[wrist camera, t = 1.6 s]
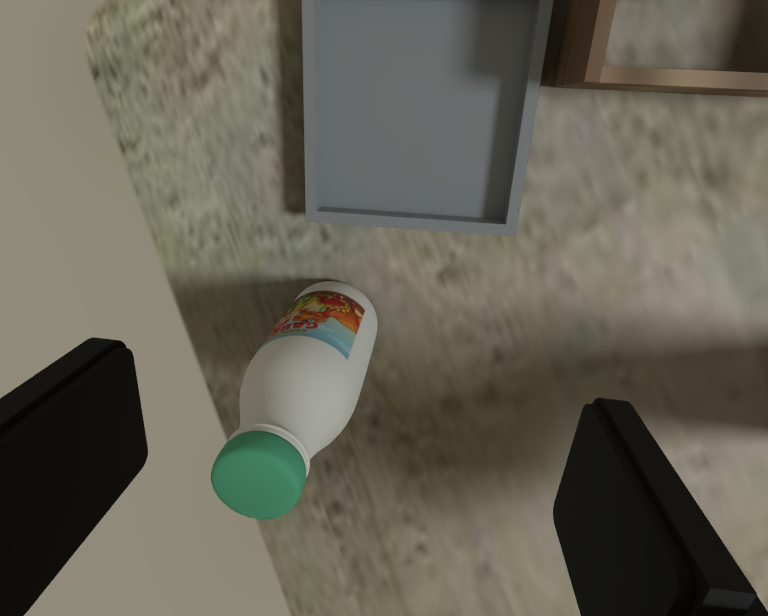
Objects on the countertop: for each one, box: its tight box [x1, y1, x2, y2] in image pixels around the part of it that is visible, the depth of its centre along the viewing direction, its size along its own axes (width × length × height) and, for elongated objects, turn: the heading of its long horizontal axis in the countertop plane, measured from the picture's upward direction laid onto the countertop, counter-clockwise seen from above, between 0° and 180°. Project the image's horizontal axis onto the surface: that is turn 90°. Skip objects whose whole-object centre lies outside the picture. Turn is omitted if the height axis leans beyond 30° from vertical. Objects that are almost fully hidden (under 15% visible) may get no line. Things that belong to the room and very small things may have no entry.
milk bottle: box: [211, 281, 378, 519], centre depth 32 cm, size 8×8×20 cm
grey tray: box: [302, 0, 554, 236], centre depth 33 cm, size 16×16×2 cm
